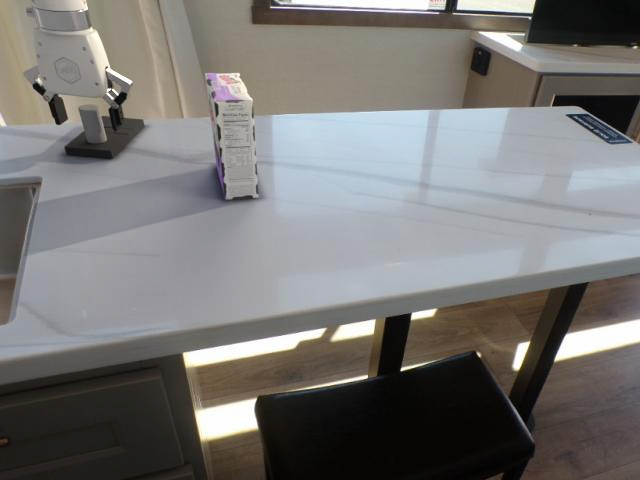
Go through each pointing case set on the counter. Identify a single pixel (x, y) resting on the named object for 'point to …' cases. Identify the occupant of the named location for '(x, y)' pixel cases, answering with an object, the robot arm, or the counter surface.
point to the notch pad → (126, 126)
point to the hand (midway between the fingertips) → (90, 125)
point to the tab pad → (98, 148)
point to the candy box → (233, 134)
